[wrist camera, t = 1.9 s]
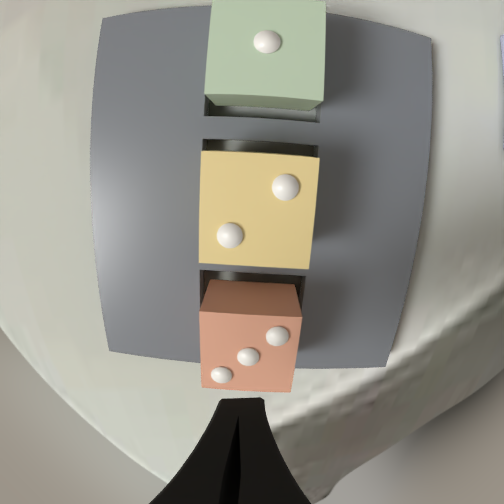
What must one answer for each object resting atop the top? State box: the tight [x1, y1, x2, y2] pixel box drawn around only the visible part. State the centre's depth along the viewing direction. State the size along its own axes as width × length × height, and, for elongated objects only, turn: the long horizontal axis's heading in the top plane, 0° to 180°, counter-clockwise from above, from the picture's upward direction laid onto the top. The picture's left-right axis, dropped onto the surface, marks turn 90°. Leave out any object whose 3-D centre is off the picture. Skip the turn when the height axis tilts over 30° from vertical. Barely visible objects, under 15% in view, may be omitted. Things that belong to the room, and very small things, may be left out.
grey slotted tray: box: [90, 6, 432, 369], centre depth 15 cm, size 16×18×1 cm
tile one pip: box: [204, 0, 326, 111], centre depth 11 cm, size 4×4×3 cm
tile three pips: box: [199, 279, 302, 392], centre depth 15 cm, size 4×4×3 cm
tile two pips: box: [199, 150, 320, 269], centre depth 13 cm, size 4×4×3 cm
